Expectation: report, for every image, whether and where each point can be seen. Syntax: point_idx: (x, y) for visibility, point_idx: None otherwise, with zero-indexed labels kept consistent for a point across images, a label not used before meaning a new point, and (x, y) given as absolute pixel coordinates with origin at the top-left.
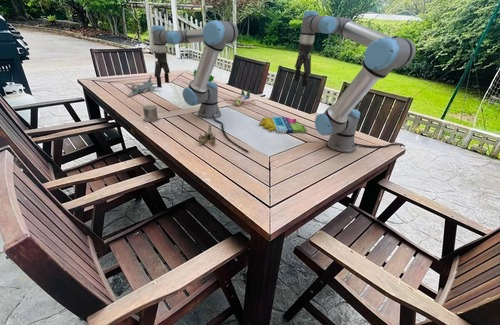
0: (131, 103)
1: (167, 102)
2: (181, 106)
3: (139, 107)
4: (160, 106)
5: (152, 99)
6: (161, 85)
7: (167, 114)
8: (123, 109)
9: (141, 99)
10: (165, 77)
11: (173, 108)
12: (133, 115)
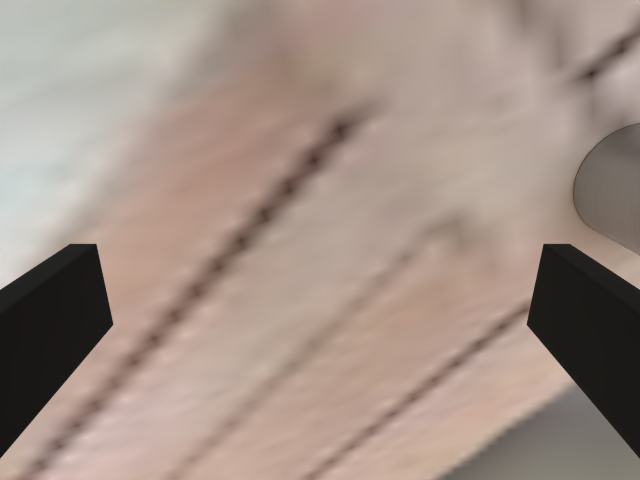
0: (250, 470)
1: (91, 238)
2: (151, 39)
3: (325, 389)
4: (239, 252)
5: (76, 386)
6: (570, 258)
7: (461, 94)
8: (401, 458)
9: (122, 453)
10: (31, 390)
11: (254, 105)
12: (526, 351)
